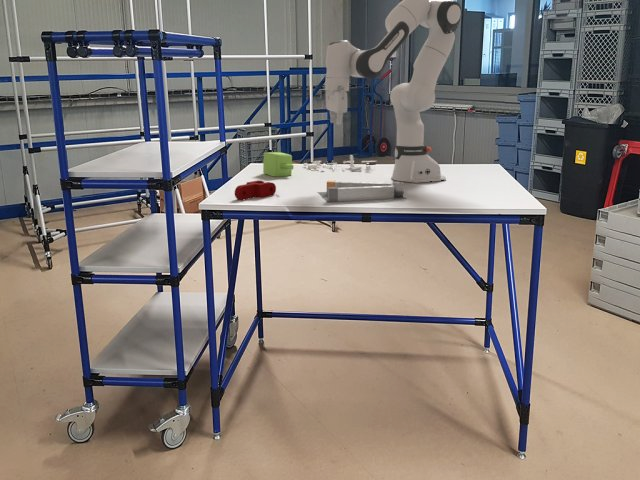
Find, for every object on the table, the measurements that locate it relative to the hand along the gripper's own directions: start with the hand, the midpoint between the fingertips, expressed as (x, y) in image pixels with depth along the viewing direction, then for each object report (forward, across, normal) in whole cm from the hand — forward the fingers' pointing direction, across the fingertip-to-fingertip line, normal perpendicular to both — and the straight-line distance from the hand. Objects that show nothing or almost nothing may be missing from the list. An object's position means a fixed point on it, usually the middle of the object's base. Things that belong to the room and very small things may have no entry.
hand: (335, 123), depth 220 cm
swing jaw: (+23, -19, -5) cm, 31 cm away
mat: (+24, -22, -5) cm, 33 cm away
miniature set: (+25, +43, -13) cm, 51 cm away
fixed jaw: (+23, -27, -5) cm, 36 cm away
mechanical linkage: (+26, -11, +32) cm, 43 cm away
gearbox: (+25, +34, +16) cm, 46 cm away
